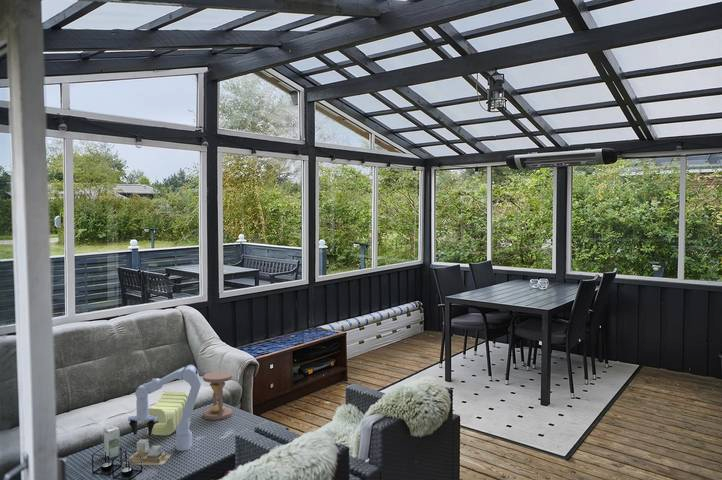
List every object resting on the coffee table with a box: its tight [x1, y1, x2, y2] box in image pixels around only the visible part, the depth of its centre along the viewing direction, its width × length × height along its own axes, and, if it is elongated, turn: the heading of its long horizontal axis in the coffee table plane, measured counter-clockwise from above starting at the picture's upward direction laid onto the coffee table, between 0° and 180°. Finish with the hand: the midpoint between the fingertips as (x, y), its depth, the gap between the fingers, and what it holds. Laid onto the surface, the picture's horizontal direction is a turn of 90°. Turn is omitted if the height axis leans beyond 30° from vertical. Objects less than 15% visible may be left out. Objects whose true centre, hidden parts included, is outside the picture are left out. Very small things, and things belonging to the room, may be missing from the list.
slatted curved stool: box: [145, 390, 189, 436], centre depth 318 cm, size 30×16×18 cm, turn 173°
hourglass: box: [202, 371, 233, 421], centre depth 343 cm, size 18×18×25 cm
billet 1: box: [136, 438, 150, 452], centre depth 289 cm, size 4×4×6 cm
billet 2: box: [147, 445, 162, 458], centre depth 278 cm, size 4×4×6 cm
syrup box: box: [103, 425, 121, 460], centre depth 284 cm, size 6×6×14 cm
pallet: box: [122, 450, 173, 466], centre depth 278 cm, size 13×20×3 cm, turn 88°
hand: (142, 434), depth 288 cm, fingers open, 7 cm apart
